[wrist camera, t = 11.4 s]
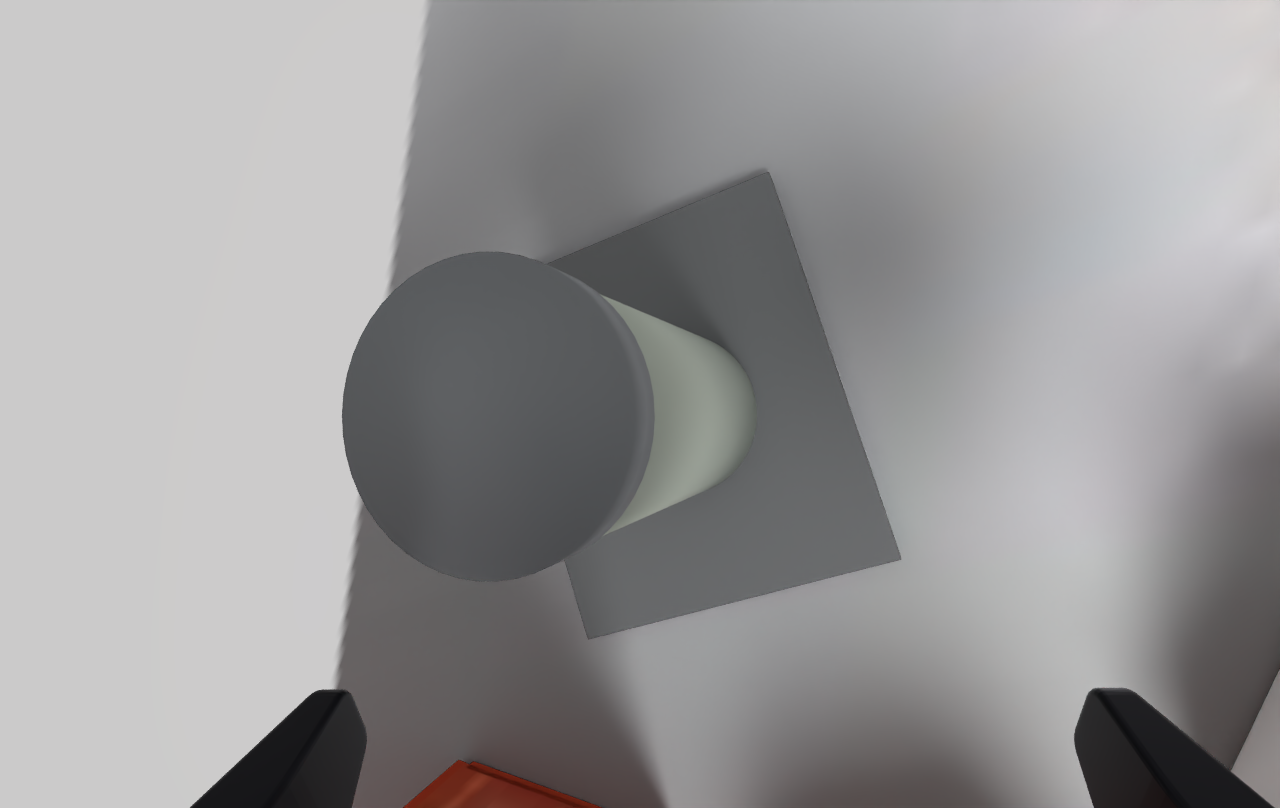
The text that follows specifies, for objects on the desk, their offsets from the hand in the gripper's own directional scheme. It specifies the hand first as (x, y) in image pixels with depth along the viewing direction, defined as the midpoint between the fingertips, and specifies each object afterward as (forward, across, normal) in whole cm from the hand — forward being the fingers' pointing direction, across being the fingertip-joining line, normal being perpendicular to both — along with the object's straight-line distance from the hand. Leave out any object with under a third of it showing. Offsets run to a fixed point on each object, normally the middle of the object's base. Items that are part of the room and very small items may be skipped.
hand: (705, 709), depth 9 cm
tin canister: (+14, +1, +4) cm, 14 cm away
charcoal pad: (+14, +1, +4) cm, 15 cm away
